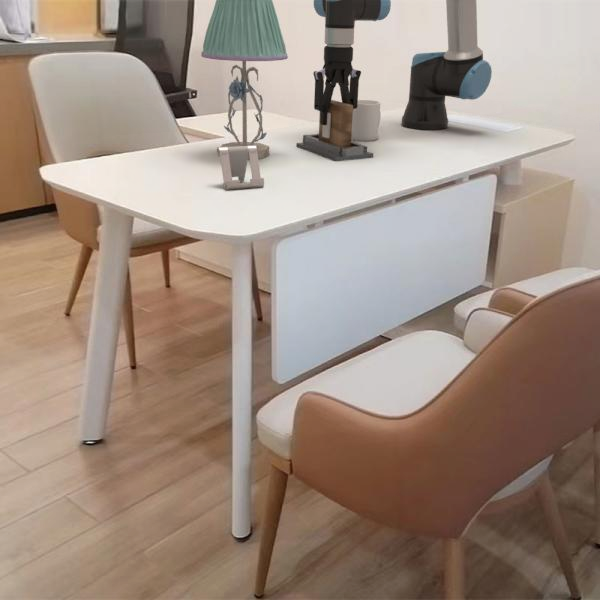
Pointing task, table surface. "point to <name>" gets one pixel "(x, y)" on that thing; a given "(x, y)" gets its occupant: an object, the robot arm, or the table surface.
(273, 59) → the table lamp
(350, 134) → the brown wooden block
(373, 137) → the mug
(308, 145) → the base
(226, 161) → the portable electronic device stand
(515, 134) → the table surface
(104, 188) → the table surface
